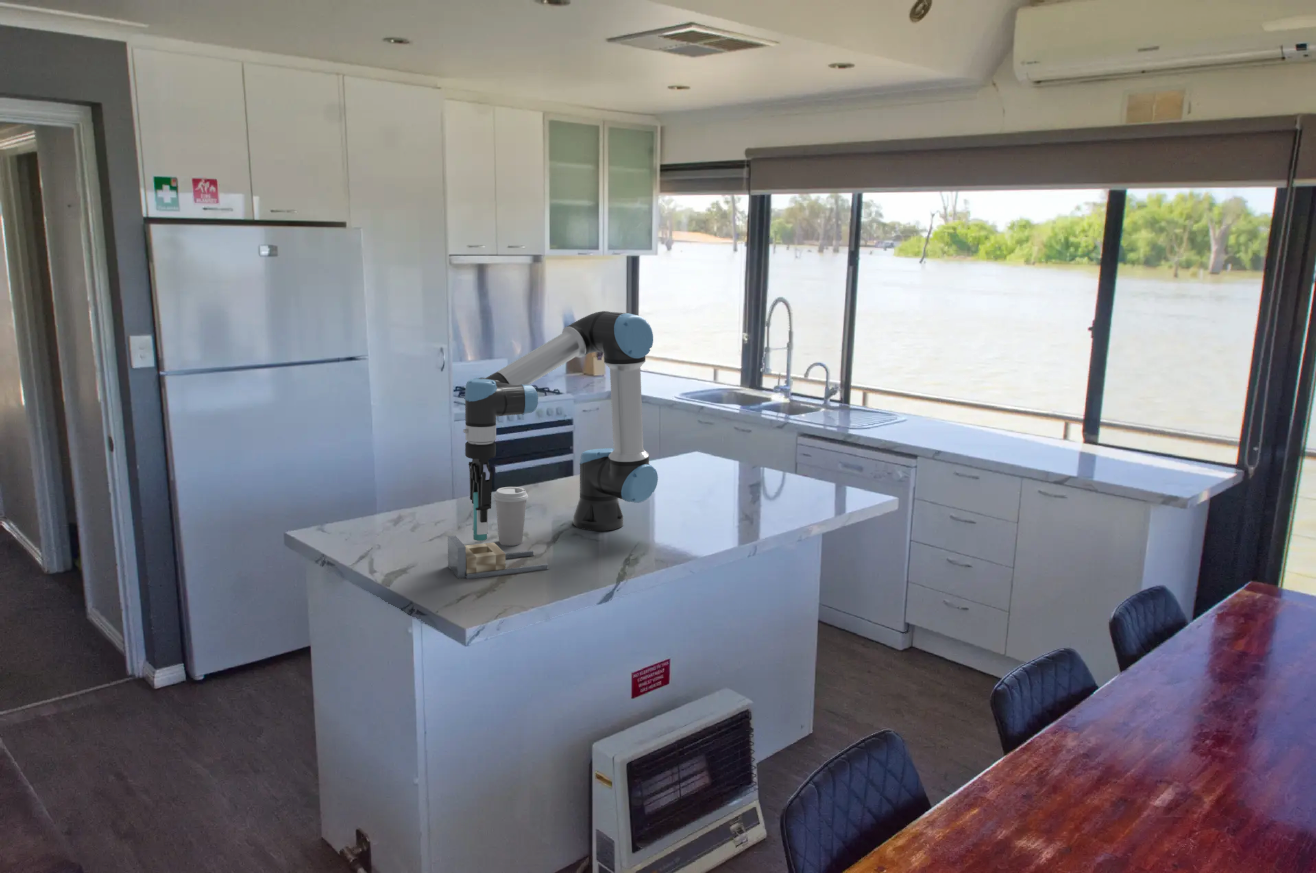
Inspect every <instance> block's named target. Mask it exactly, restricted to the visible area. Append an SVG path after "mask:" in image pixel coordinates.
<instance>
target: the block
mask: <svg viewBox="0 0 1316 873" xmlns="http://www.w3.org/2000/svg"><path fill="white" fill-rule="evenodd" d="M464 546H465V547H466V574H467V573H475V572H483V571H492V570H500V569H506V559H505V554H506V553H505V552H504V551H503V550H502V549H501V548H500V547H499V546H498V545H497V544H496V543H495V542H487V543H486V542H485V543H476V544H468V545H464Z"/></svg>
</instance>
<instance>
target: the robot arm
mask: <svg viewBox="0 0 1316 873" xmlns="http://www.w3.org/2000/svg"><path fill="white" fill-rule="evenodd" d="M653 343H654V332H653V329H652V327H651V325H650V324H649V322H648V321H647V319H645V318H644V317H643V316H640V315H637V314H634V313H630V312H629V313H628V312H615V311H607V310H602V311H596V312H594V313H593V312H592V313H590V314H588V315H586V316H583V317H581V318H579V319H578V320H575V321H574V322H573V323H570V324H569V325H567V326H565V327H563V329H562V333H561V334H559V335H557V336H556V337H554V338H552V339H551V340H549V341H547V342H545V343H544V344H542V345H540V346H539V347H536V348H535V349H534V350H532V351H530V352H528V353H526V354H525V355H523V356H521V357H519V358H518V359H516V360H514V361H513V362H511V363H509V364H507V365H506V366H504V367H503V368H501V369H499V370H498V371H495V372H494V373H491V374H490V375H489V376H487V377H475V378H473V379H470V380H468V381H466V383H465V389H464V390H465V391H464V402H465V404H464V407H465V408H464V409H465V410H464V411H465V413H464V414H465V415H464V416H465V417H464V418H465V419H464V420H465V428H464V429H463V431H462V432H463V433H465V441H466V442H465V445H464V446H465V447H464V448H465V450H464V451H465V452H464V454H465V457H466V458H468V459H471V461H469V462H468V470H469V500H470V501H471V504H472V505H473V493H474V492H478V508H475V509H476V510H477V535H481V534H487V535H489V510H490V509H492V491H493V490H492V488H493V487H492V486H493V485H492V484H493V475H494V473H493V471H491V464H490V463H489V460H490V459H493V458H495V457H496V454H497V450H496V449H497V443H496V442H495V441H496V440H497V417H507V416H516V415H517V416H518V415H521V416H522V415H526V414H531V413H533V412H535V411H536V409H537V408H538V405H539V395H538V392H537V390H536V388H535V387H534V386H533V385H531V384H534V382H536V381H538V380H540V379H541V378H542V377H544V376H546V375H548V374H550V373H552V372H553V371H555V370H556V369H558V368H559V367H561V366H563V365H564V364H566V363H568V362H570V361H571V360H573V359H574V358H583V357H585V356H587V355H589V354H592V353H603V362H604V363H603V364H605V365H606V366H607V367H608V368H609V373H610V374H609V376H610V377H609V378H610V379H609V380H610V399H611V400H610V402H611V420H612V445H613V448H612V447H611V448H593V449H588V450H584V451H583V452H582V453H581V454H580V460H579V461H580V462H579V500H578V503H577V505H576V509H575V510H574V513H573V518H572V520H573V521H572V522H573V525H574V527H576V528H578V529H582V530H586V531H592V532H593V531H594V532H595V531H596V532H597V531H599V532H603V531H612V530H614V531H615V530H618V529H620V528H622V527H623V526H624V515H623V512H622V509H621V505H620V501H619V499H620V500H623V501H625V502H627V503H634V504H639V503H642V502H645V501H647V500H648V499H650V497H651V496H652V495H653V493H654V492H655V491H656V488H657V486H658V482H659V481H658V480H659V475H658V471H657V470H656V469H655V467H654V466H653V465H651V464H650V453H649V452H647V451H646V450H645V449H644V431H643V430H644V429H643V428H644V426H643V402H642V380H641V379H642V375H641V367H642V366H643V365H644V364H645V362H646V356H647V355H648V354H649V353H650V351H651V349H652V348H653Z"/></svg>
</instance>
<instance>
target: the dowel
mask: <svg viewBox="0 0 1316 873" xmlns="http://www.w3.org/2000/svg"><path fill="white" fill-rule="evenodd" d="M475 508H478V492H474V493H473V504H472V531H473V534H472V535H473V540H474V541H480V542H481V541H482V542H483V541H486V540H487V539H488V534H481V535H477V510H476V509H475Z"/></svg>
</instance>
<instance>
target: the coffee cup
mask: <svg viewBox="0 0 1316 873" xmlns="http://www.w3.org/2000/svg"><path fill="white" fill-rule="evenodd" d="M493 499H494V500H495V509H496V510H495V512H496V518H497V519H496V521H497V531H498V533H497V534H498V543H499V544H500V545H503V546H508V547H509V546H511V547H512V546H518V545H521V544H522V543H523V542H524V541H523V540H524V532H525V531H524V528H525V519H526V508H527V500H528V499H529V495H528V493H527V491H526V489H525V488H523V487H518V486H505V487H499V488H497V489H496V492H495V493H494V495H493Z"/></svg>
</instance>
